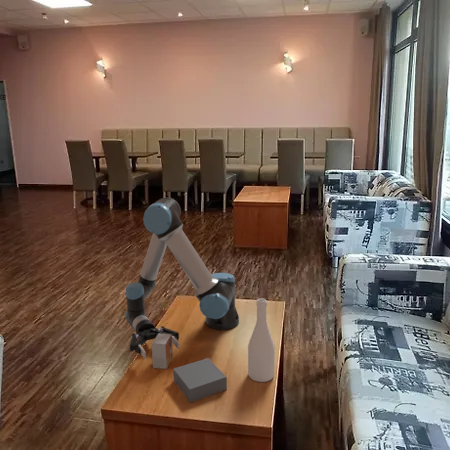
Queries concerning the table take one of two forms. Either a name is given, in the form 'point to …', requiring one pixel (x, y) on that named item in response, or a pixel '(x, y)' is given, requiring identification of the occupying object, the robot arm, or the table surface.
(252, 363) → the wine bottle
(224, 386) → the plinth
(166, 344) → the small box
